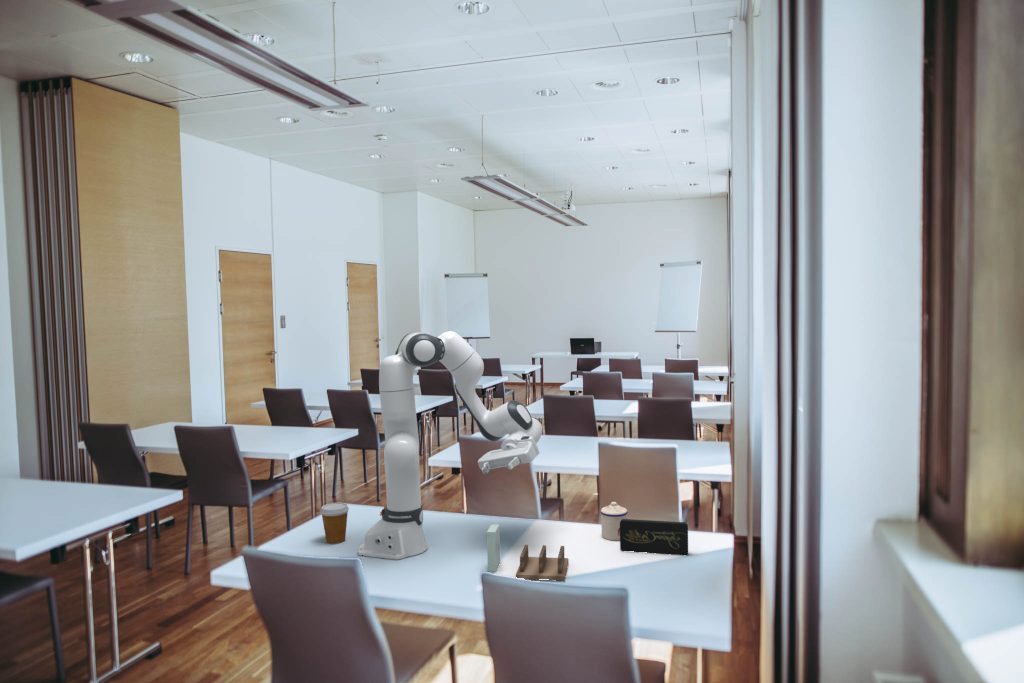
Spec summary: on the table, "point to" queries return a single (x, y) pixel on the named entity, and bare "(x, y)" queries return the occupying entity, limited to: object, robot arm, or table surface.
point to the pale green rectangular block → (493, 547)
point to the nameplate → (654, 536)
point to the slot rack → (542, 566)
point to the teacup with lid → (612, 520)
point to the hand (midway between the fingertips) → (496, 469)
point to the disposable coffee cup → (335, 521)
